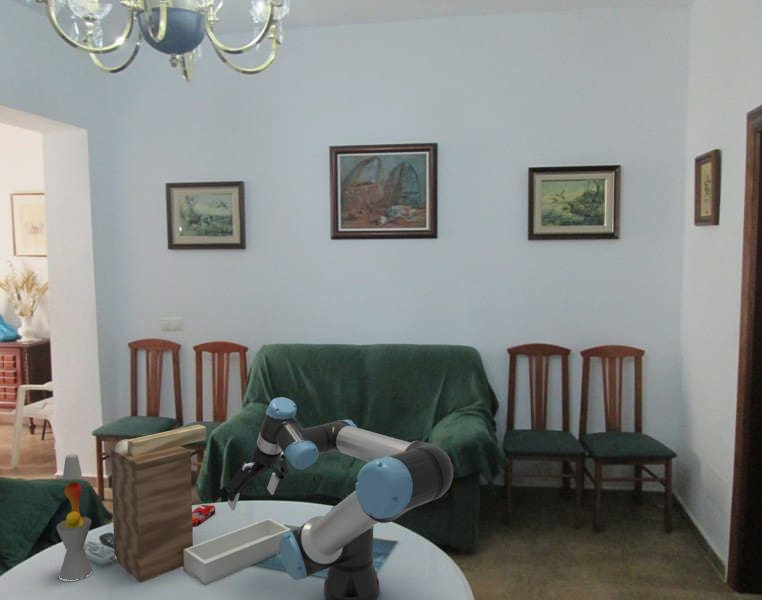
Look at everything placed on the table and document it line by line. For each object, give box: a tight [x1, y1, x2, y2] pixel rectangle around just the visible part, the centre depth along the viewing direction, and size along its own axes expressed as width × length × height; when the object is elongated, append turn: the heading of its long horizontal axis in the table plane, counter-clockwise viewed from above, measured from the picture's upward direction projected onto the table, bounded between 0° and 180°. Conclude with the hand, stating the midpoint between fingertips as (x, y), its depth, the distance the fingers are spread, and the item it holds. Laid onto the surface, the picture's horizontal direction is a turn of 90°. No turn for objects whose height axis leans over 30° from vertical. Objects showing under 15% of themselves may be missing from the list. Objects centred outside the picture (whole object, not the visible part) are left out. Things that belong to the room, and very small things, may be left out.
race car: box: [192, 503, 216, 527], centre depth 211 cm, size 13×5×4 cm, turn 160°
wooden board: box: [127, 424, 207, 456], centre depth 183 cm, size 4×23×4 cm, turn 136°
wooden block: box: [110, 439, 194, 583], centre depth 180 cm, size 18×16×37 cm
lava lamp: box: [55, 453, 93, 580], centre depth 173 cm, size 9×9×35 cm
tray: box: [183, 517, 292, 585], centre depth 183 cm, size 12×30×6 cm, turn 136°
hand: (251, 498), depth 177 cm, fingers open, 13 cm apart
